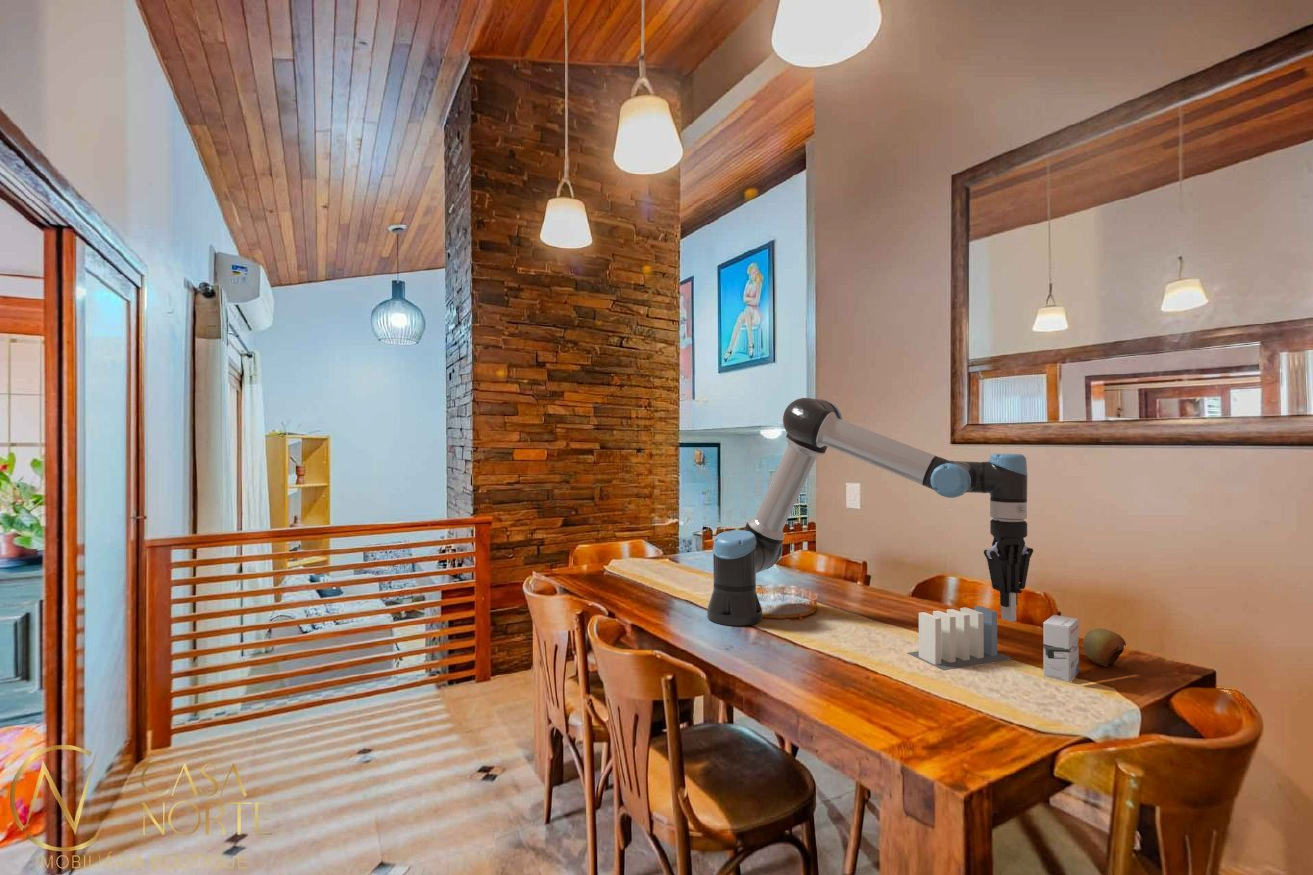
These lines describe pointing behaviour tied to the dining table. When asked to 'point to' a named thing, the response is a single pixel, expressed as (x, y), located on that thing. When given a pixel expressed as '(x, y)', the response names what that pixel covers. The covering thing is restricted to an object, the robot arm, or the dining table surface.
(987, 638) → the domino
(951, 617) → the domino
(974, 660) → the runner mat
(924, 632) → the domino
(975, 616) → the domino
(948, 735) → the dining table surface
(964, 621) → the domino
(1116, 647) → the fruit
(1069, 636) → the ink box
